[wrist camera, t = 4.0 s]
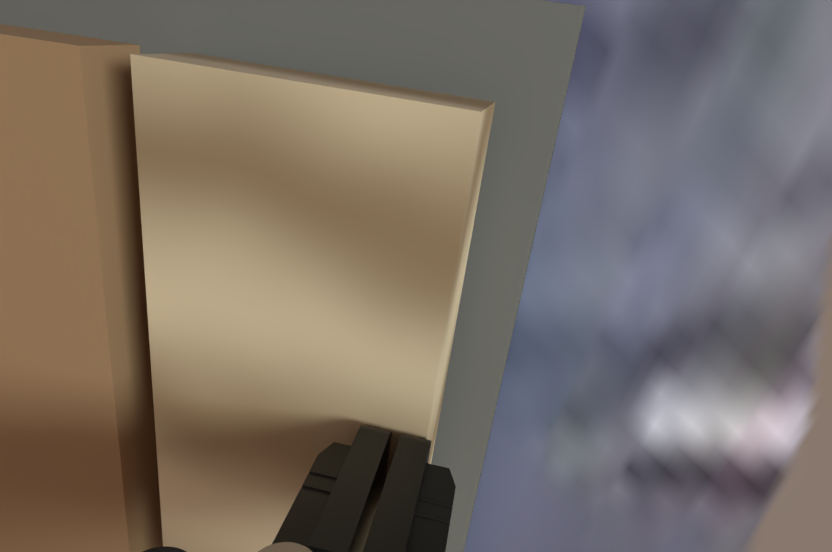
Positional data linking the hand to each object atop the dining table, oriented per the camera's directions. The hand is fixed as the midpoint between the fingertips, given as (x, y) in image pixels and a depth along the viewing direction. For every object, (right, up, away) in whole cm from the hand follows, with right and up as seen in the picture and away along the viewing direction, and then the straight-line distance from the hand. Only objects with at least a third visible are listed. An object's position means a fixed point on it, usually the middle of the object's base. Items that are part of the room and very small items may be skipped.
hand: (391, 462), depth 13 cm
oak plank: (-2, +1, +2) cm, 3 cm away
